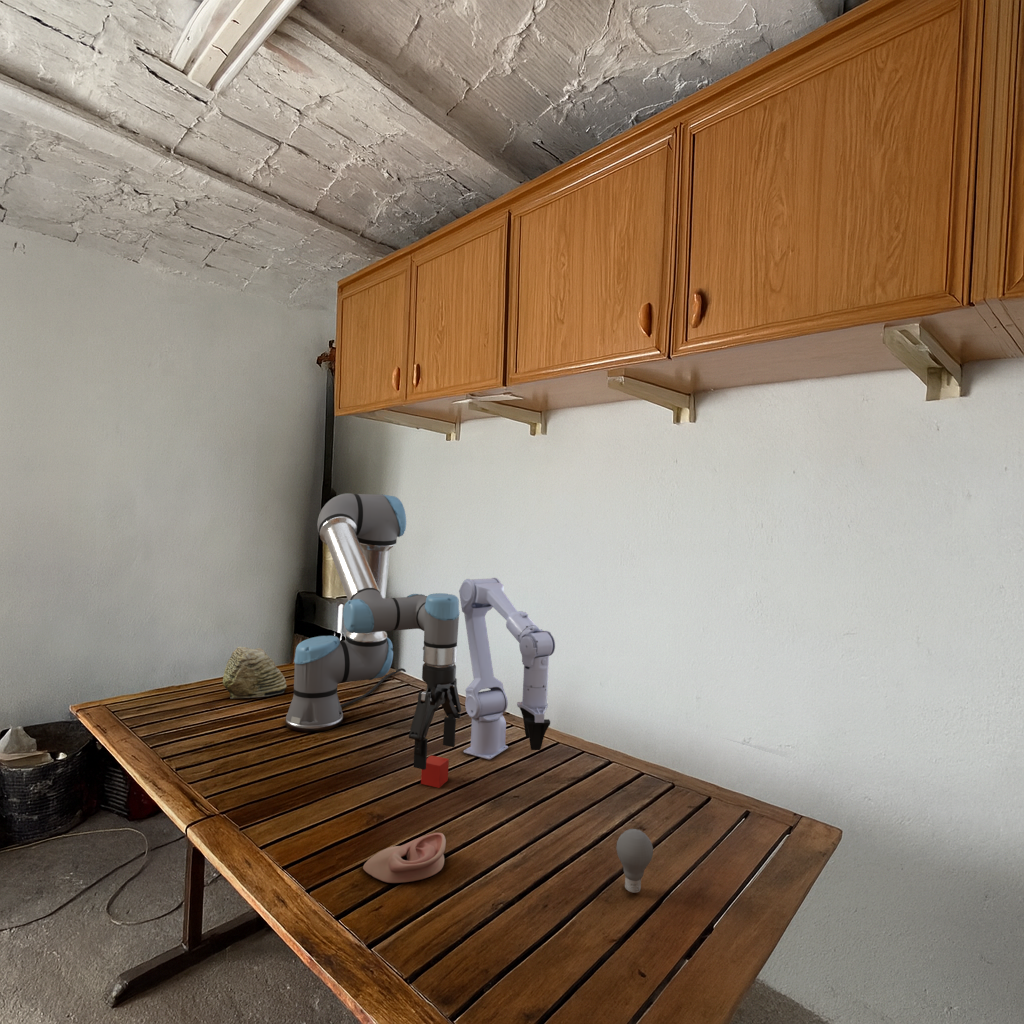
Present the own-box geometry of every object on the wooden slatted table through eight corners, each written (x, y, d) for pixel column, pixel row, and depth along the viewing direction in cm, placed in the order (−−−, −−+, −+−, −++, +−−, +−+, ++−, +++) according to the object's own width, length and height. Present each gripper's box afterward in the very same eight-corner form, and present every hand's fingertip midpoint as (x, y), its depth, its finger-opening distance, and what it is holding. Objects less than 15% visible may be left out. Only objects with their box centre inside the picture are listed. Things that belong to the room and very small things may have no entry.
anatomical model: (355, 854, 106) (383, 820, 117) (354, 877, 106) (382, 841, 117) (431, 866, 103) (452, 831, 114) (430, 890, 103) (451, 852, 114)
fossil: (218, 695, 195) (220, 647, 195) (278, 685, 208) (279, 640, 207) (228, 703, 189) (230, 653, 188) (289, 692, 201) (290, 645, 201)
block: (430, 776, 146) (431, 755, 146) (447, 780, 144) (448, 758, 144) (420, 783, 142) (421, 761, 142) (439, 788, 140) (440, 765, 140)
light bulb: (610, 879, 108) (613, 822, 108) (644, 879, 109) (647, 822, 109) (619, 902, 102) (622, 840, 102) (655, 901, 103) (658, 840, 103)
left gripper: (450, 649, 155) (445, 734, 156) (395, 674, 132) (390, 774, 133) (477, 653, 153) (473, 740, 153) (426, 680, 129) (421, 782, 130)
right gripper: (514, 675, 153) (511, 731, 153) (522, 694, 138) (520, 755, 139) (543, 675, 154) (540, 731, 154) (554, 694, 139) (551, 755, 139)
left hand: (434, 756), depth 143 cm, fingers open, 13 cm apart
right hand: (532, 742), depth 146 cm, fingers open, 7 cm apart
